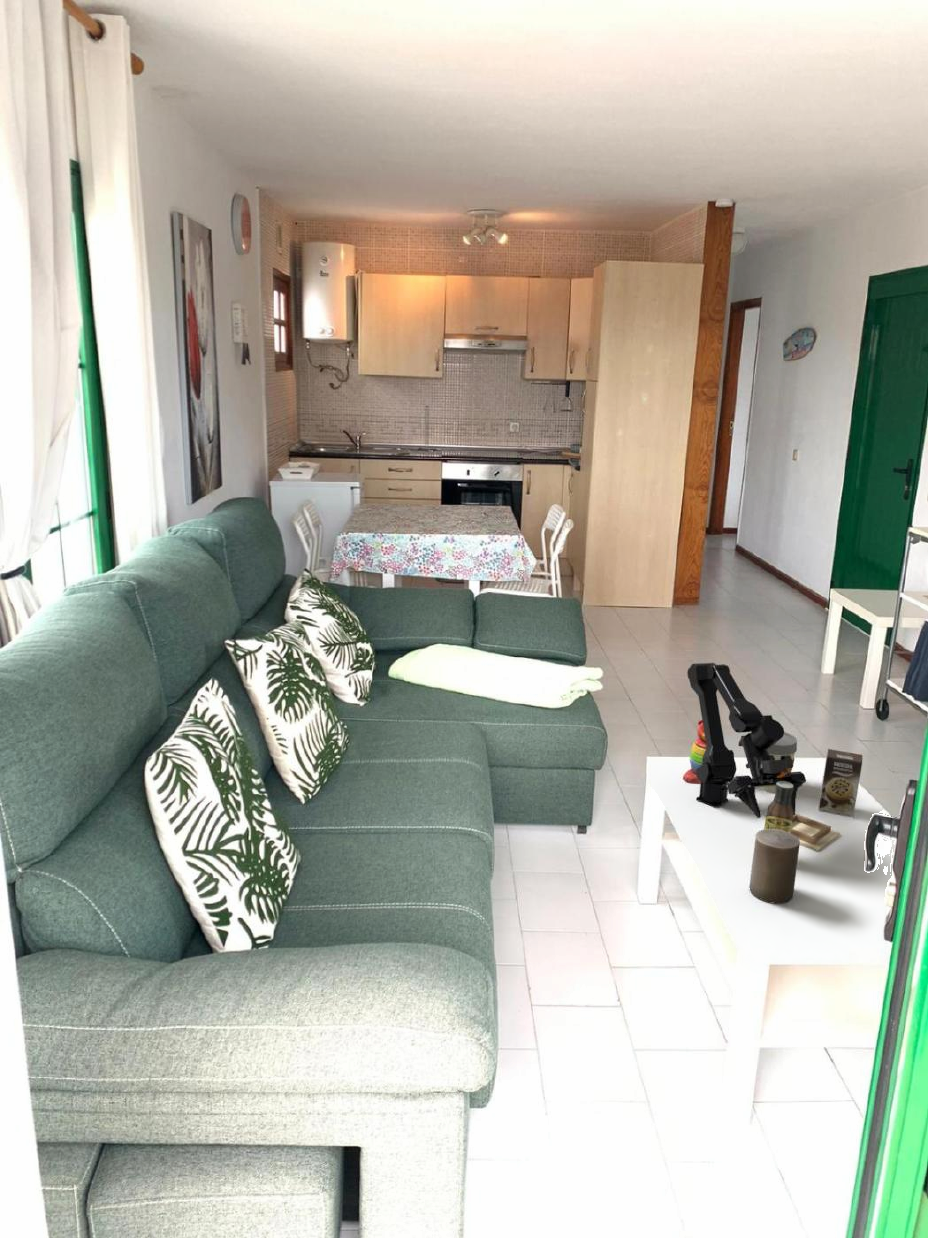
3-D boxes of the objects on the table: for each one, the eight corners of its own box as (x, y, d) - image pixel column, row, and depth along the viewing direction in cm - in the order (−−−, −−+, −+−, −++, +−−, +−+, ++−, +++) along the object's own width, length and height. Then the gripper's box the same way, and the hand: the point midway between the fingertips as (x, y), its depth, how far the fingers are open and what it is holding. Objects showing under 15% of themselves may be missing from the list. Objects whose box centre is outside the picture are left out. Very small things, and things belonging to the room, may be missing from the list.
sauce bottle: (758, 861, 234) (768, 786, 229) (761, 850, 239) (770, 776, 234) (786, 867, 232) (796, 791, 226) (788, 855, 237) (798, 781, 232)
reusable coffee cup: (797, 796, 270) (804, 746, 266) (752, 794, 270) (758, 745, 266) (783, 777, 282) (790, 729, 278) (740, 776, 282) (746, 728, 278)
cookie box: (818, 811, 261) (825, 756, 257) (819, 801, 267) (826, 747, 263) (854, 818, 258) (862, 762, 254) (854, 808, 264) (862, 753, 260)
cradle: (765, 831, 249) (766, 824, 248) (789, 816, 258) (790, 809, 257) (817, 851, 239) (818, 844, 239) (840, 834, 248) (841, 827, 248)
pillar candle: (795, 906, 215) (804, 845, 211) (750, 900, 216) (758, 840, 213) (789, 884, 224) (797, 825, 220) (746, 879, 226) (753, 820, 222)
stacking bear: (681, 781, 277) (686, 723, 272) (690, 769, 286) (696, 712, 281) (718, 790, 272) (725, 731, 268) (726, 777, 281) (733, 720, 276)
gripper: (738, 746, 232) (756, 808, 224) (806, 741, 236) (827, 802, 229) (719, 763, 241) (736, 823, 234) (785, 758, 246) (804, 817, 238)
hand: (776, 816), depth 233 cm, fingers open, 9 cm apart
